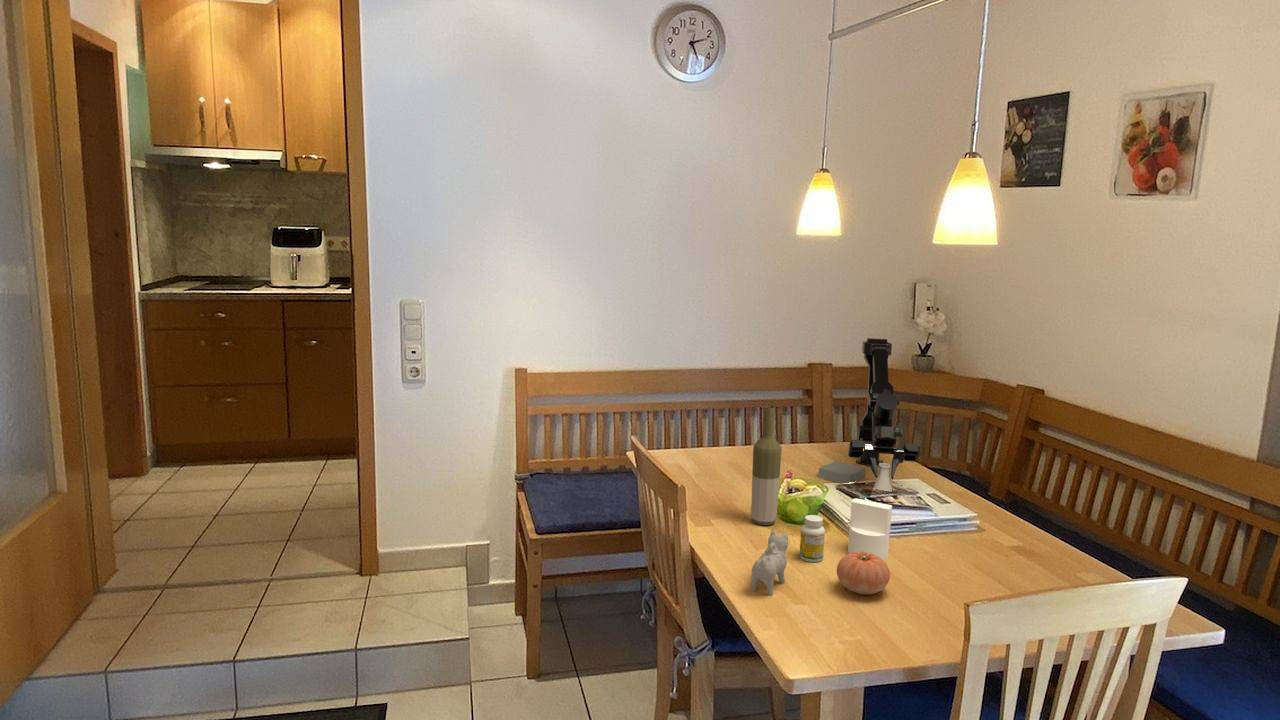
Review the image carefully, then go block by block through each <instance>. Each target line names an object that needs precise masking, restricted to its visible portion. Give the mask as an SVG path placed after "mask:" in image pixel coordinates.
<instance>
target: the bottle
mask: <svg viewBox="0 0 1280 720" xmlns="http://www.w3.org/2000/svg"><path fill="white" fill-rule="evenodd" d="M775 414H776V406H774V405H765V406H764V407H763V425H762V426H763V428H762V437H760V438H759V439H758V440H757V441H756V443H755V444H754V445H753V448H752V470H751V471H752V473H751V474H752V475H751V476H752V477H751V503H750V504H751V507H750V508H751V510H750V511H751V512H750V513H751V514H750V517H751V518H750V519H751V521H752V522H753V523H754V524H757V525H760V526H771V525H774V524H775V523H776V521H777V513H778V501H779V488H780V475H781V464H782V463H781V462H782V461H781V460H782V446H781V444H780V443H779V442H778V441H777V439H776V438H775V436H774V432H775Z"/></svg>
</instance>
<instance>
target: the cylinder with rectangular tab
mask: <svg viewBox="0 0 1280 720" xmlns="http://www.w3.org/2000/svg"><path fill="white" fill-rule="evenodd" d="M850 505H851V506H850V517H849V519H850V520H849V529H848V530H849V533H848V543H847V545H848V546H847V552H848V554H849V553H852V552H867V553H871V554H874V555H876V556H878V557H880V558H881V559H882V560H886V559H887V558H888V556H889V548H890V547H889V546H890V535H891V521H892V511H893V505H891V504H888V503H882V502H876V501H873V500H866V499H861V498H856V497H855V498H853V499H852V500H851V504H850Z"/></svg>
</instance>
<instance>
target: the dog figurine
mask: <svg viewBox="0 0 1280 720" xmlns="http://www.w3.org/2000/svg"><path fill="white" fill-rule="evenodd" d="M788 547H789V535H788V533H785V532H784V533H781V534H778V531H777V529H776V530H775V529H774V530H772V531H770V534H769V536H768V539H767V548H766V549H765V550H764V552H763V553H762V554H761V555H760V556H759V558H758V559H757V560H755V562H754V563H753V565H752V568H751V588H750V591H752V590H753V592H756V590H757V584H758V582H759V581H761V582H762V583H764V584H765V586H766V587H767V591H766V594H767V595H768V594H769V595H768V596H773V595H774V582H775V581H774V580H775V577H776V575H777V578H778V583H780V584H782V583H783V585H784V584H786V578H785V569H786V567H787V564H788V561H787V554H786V551H787V549H788Z"/></svg>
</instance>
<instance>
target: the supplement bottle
mask: <svg viewBox="0 0 1280 720" xmlns="http://www.w3.org/2000/svg"><path fill="white" fill-rule="evenodd" d="M823 524H824V518H823V517H822V516H819V515H816V514H809V515H808V514H807V515H806V516H804V524H803V525H802V526H801V529H800V540H799V541H800V542H799V543H800V544H799V557H800V559H801V560H803V561H805V562H809V563H819V562H822V561H823V559H824V554H825V553H824V551H825V539H826V530H825V528H824V526H823Z"/></svg>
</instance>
